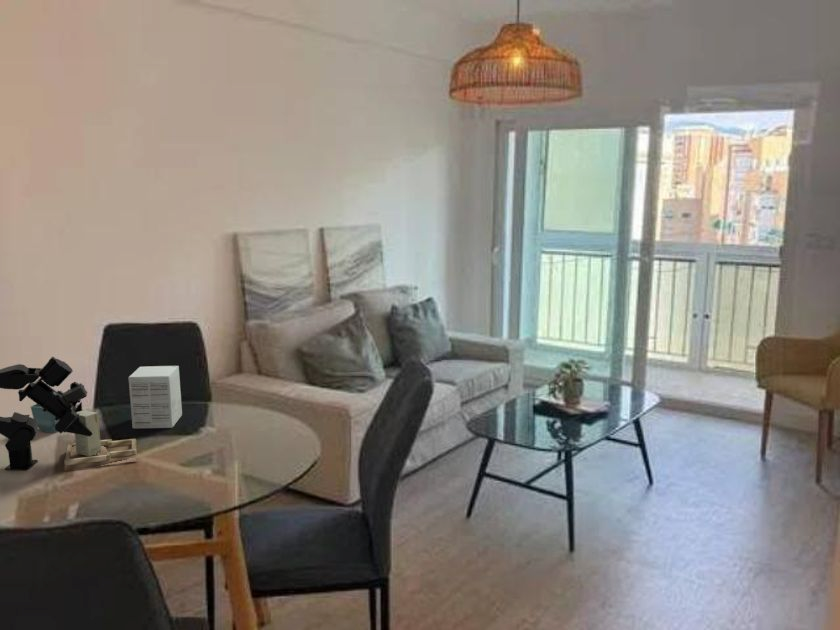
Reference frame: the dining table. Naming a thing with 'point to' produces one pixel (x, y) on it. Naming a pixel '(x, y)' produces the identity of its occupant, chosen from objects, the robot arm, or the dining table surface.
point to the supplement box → (155, 397)
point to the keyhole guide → (115, 453)
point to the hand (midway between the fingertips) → (92, 430)
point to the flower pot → (43, 419)
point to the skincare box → (88, 443)
